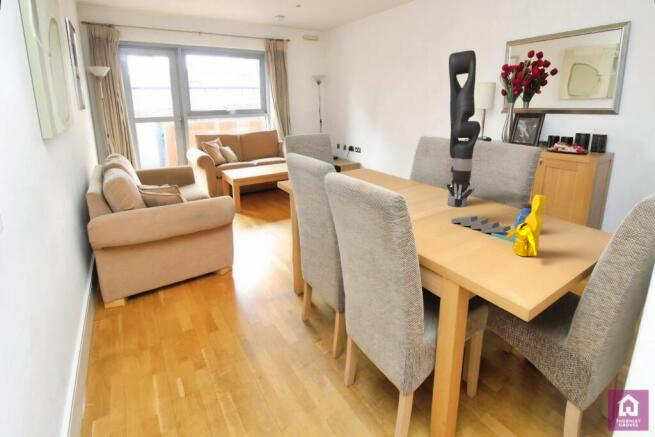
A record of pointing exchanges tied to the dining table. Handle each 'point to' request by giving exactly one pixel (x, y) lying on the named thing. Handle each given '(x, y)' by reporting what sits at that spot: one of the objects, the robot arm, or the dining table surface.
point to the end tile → (503, 236)
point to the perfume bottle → (523, 214)
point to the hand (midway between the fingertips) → (457, 206)
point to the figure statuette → (529, 230)
